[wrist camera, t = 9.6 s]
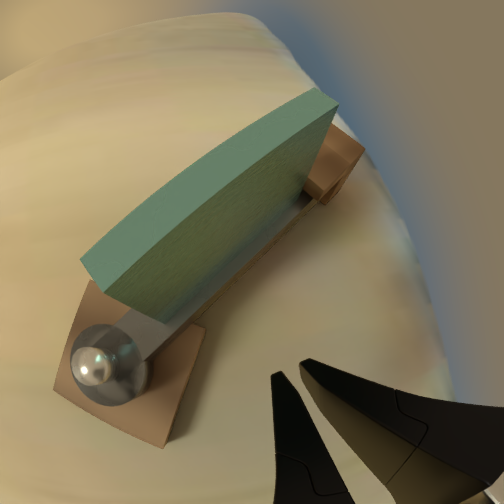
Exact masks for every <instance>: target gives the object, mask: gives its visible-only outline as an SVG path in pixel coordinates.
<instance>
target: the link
mask: <svg viewBox="0 0 504 504" xmlns="http://www.w3.org/2000/svg"><path fill="white" fill-rule="evenodd" d="M338 106H339V103H338V102H336V101H335V100H333V99H332V98H330V97H329V96H327V95H325V94H324V93H323V92H321V91H319V90H318V89H316V88H315V87H314V88H312V89H311V90H309V91H307V92H305V93H303V94H301V95H300V96H298V97H296V98H294V99H292V100H291V101H289V102H287V103H285V104H284V105H282V106H280V107H279V108H277V109H275V110H273V111H272V112H270V113H268V114H267V115H265V116H263V117H262V118H260V119H259V120H257V121H255V122H254V123H252V124H251V125H249V126H247V127H246V128H244V129H243V130H241V131H240V132H238V133H237V134H235V135H234V136H232V137H231V138H229V139H227V140H226V141H225V142H223V143H222V144H220V145H219V146H217V147H216V148H214V149H213V150H211V151H210V152H209V153H207V154H206V155H204V156H203V157H201V158H200V159H199V160H197V161H196V162H194V163H193V164H192V165H190V166H189V167H188V168H186V169H185V170H184V171H182V172H181V173H180V174H178V175H177V176H176V177H174V178H173V179H172V180H170V181H169V182H168V183H167V184H165V185H164V186H163V187H161V188H160V189H159V190H158V191H156V192H155V193H154V194H153V195H151V196H150V197H149V198H148V199H146V200H145V201H144V202H143V203H142V204H140V205H139V206H138V207H137V208H136V209H134V210H133V211H132V212H131V213H130V214H129V215H127V216H126V217H125V218H124V219H123V220H122V221H120V222H119V223H118V224H117V225H116V226H115V227H114V228H113V229H111V230H110V231H109V232H108V233H107V234H106V235H105V236H104V237H103V238H101V239H100V240H99V241H98V242H97V243H96V244H95V245H94V246H93V247H92V248H91V249H90V250H89V251H88V252H87V253H86V254H85V255H83V256H82V257H81V258H80V260H81V262H82V263H83V265H84V266H85V268H86V269H87V271H88V272H89V274H90V275H91V277H92V278H93V280H94V281H95V282H96V284H97V285H98V287H99V288H100V289H101V291H102V292H103V293H104V294H106V295H108V296H110V297H112V298H113V299H115V300H117V301H119V302H121V303H123V304H125V305H127V306H129V307H130V308H131V309H130V310H129V311H128V312H127V313H126V314H125V315H124V316H123V317H122V318H120V319H119V320H118V321H117V322H116V323H115V324H114V325H109V324H96V325H92V326H90V327H88V328H86V329H85V330H83V331H82V332H81V333H80V334H79V335H78V336H77V338H76V340H75V341H74V343H73V346H72V349H71V354H70V367H71V372H72V375H73V378H74V380H75V382H76V384H77V386H78V387H79V389H80V390H81V391H82V393H83V394H84V395H85V396H86V397H88V398H89V399H90V400H92V401H94V402H95V403H97V404H100V405H103V406H110V407H113V406H120V405H123V404H125V403H127V402H130V401H132V400H134V399H136V398H138V397H140V396H141V395H142V394H143V393H144V392H145V391H146V390H147V389H148V387H149V385H150V383H151V381H152V378H153V370H154V367H153V360H154V359H155V358H156V357H157V356H158V355H159V354H160V353H161V352H162V351H164V350H165V349H166V348H167V347H168V346H169V345H170V344H171V343H172V342H173V341H174V340H175V339H176V338H177V337H178V336H179V335H180V334H181V333H183V332H184V331H185V330H186V329H187V328H188V327H189V326H190V325H191V324H192V323H193V322H194V321H195V320H196V319H197V318H198V317H199V316H200V315H201V314H203V313H204V312H205V311H206V310H207V309H208V308H209V307H210V306H211V305H212V304H213V303H214V302H215V301H216V300H217V299H218V298H219V297H220V296H221V295H222V294H223V293H224V292H226V291H227V290H228V289H229V288H230V287H231V286H232V285H233V284H234V283H235V282H236V281H237V280H238V279H239V278H240V277H241V276H242V275H243V274H244V273H245V272H246V271H247V270H248V269H249V268H250V267H252V266H253V265H254V264H255V263H256V262H257V261H258V260H259V259H260V258H261V257H262V256H263V255H264V254H265V253H266V252H267V251H268V250H269V249H270V248H271V247H272V246H273V245H274V244H275V243H276V242H277V241H278V240H279V239H280V238H281V237H282V236H283V235H285V234H286V233H287V232H288V231H289V230H290V229H291V228H292V227H293V226H294V225H295V224H296V223H297V222H298V221H299V220H300V219H301V218H302V217H303V216H304V215H305V214H306V213H307V212H308V211H309V210H310V209H311V208H312V207H313V206H314V205H315V204H316V203H317V202H318V201H316V200H315V199H314V198H313V197H312V196H310V195H309V194H308V193H307V192H306V191H304V190H303V187H304V184H305V182H306V180H307V178H308V175H309V173H310V171H311V169H312V166H313V164H314V162H315V159H316V157H317V155H318V153H319V150H320V148H321V146H322V143H323V141H324V139H325V136H326V134H327V132H328V129H329V127H330V125H331V122H332V120H333V118H334V115H335V113H336V111H337V108H338Z"/></svg>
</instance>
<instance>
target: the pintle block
mask: <svg viewBox="0 0 504 504" xmlns="http://www.w3.org/2000/svg"><path fill="white" fill-rule="evenodd" d="M130 309H131V308H130V307H129V306H127V305H125V304H123V303H121V302H119V301H117V300H115V299H113V298H112V297H110V296H108V295H106V294H104V293H103V292H102V291H101V289H100V288H99V287H98V285H97V284H96V282H94V281H92V280H90V281H89V283H88V285H87V288H86V290H85V293H84V295H83V298H82V300H81V303H80V305H79V308H78V311H77V313H76V316H75V319H74V322H73V324H72V327H71V330H70V333H69V336H68V339H67V342H66V345H65V348H64V352H63V355H62V358H61V362H60V365H59V369H58V372H57V376H56V380H55V384H54V388H53V390H54V391H55V392H57V393H58V394H60V395H61V396H63V397H64V398H66V399H67V400H69V401H70V402H72V403H73V404H75V405H77V406H78V407H80V408H82V409H83V410H85V411H87V412H88V413H90V414H92V415H93V416H95V417H97V418H99V419H100V420H102V421H104V422H106V423H108V424H110V425H112V426H113V427H115V428H117V429H119V430H121V431H123V432H125V433H127V434H130V435H132V436H134V437H136V438H138V439H140V440H142V441H145V442H147V443H149V444H152V445H154V446H156V447H159V448H161V449H163V448H164V447H165V445H166V444H167V441H168V438H169V435H170V432H171V429H172V426H173V423H174V420H175V418H176V415H177V412H178V409H179V406H180V403H181V400H182V397H183V394H184V391H185V389H186V386H187V383H188V380H189V377H190V374H191V371H192V369H193V366H194V363H195V360H196V357H197V354H198V352H199V349H200V346H201V343H202V340H203V338H204V335H205V332H206V329H205V328H203V327H200V326H198V325H195V324H191V325H190V326H189V327H188V328H187V329H186V330H185V331H184V332H183V333H181V334H180V335H179V336H178V337H177V338H176V339H175V340H174V341H173V342H172V343H171V344H170V345H169V346H168V347H167V348H166V349H165V350H164V351H162V352H161V353H160V354H159V355H158V356H157V357H156V358H155V359H154V360H153V367H154V370H153V378H152V381H151V383H150V385H149V387H148V389H147V390H146V391H145V392H144V393H143V394H142V395H141V396H140V397H138V398H136V399H134V400H132V401H130V402H127V403H125V404H123V405H120V406H113V407H110V406H103V405H100V404H97V403H95V402H94V401H92V400H90V399H89V398H88V397H86V396H85V395H84V394H83V393H82V391H81V390H80V389H79V387H78V386H77V384H76V382H75V380H74V378H73V375H72V372H71V367H70V354H71V349H72V346H73V343H74V341H75V340H76V338H77V336H78V335H79V334H80V333H81V332H82V331H83V330H85V329H86V328H88V327H90V326H92V325H96V324H109V325H114V324H115V323H116V322H117V321H118V320H119V319H120V318H122V317H123V316H124V315H125V314H126V313H127V312H128V311H129V310H130Z"/></svg>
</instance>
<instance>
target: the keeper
mask: <svg viewBox="0 0 504 504" xmlns="http://www.w3.org/2000/svg"><path fill="white" fill-rule="evenodd" d="M364 150H365V148H364V147H363V146H361V145H360V144H359V143H358V142H356V141H355V140H354V139H352V138H351V137H350V136H348V135H347V134H346V133H344V132H343V131H342V130H340V129H339V128H338V127H336V126H335V125H333V124H332V123H331V125H330V127H329V129H328V132H327V134H326V136H325V139H324V141H323V143H322V146H321V148H320V150H319V153H318V155H317V157H316V159H315V162H314V164H313V166H312V169H311V171H310V173H309V175H308V178H307V180H306V182H305V184H304V187H303V190H304V191H306V192H307V193H308V194H309V195H310V196H312V197H313V198H314V199H315V200H316V201H320V202H321V203H323V204H324V205H326V204H327V203H328V202H329V201H330V200H331V199H332V198H333V196H334V195H335V194H336V193H337V192H338V191H339V190H340V188H341V187H342V185H343V184H344V182H345V181H346V179H347V177H348V176H349V174H350V173H351V171H352V170H353V168H354V166H355V165H356V163H357V162H358V160H359V158H360V157H361V155H362V154H363V152H364Z"/></svg>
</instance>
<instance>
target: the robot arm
mask: <svg viewBox="0 0 504 504" xmlns="http://www.w3.org/2000/svg"><path fill="white" fill-rule="evenodd" d="M299 368H300V375H301V379H302V381H303V383H304V385H305V386H306V388H307V390H308V392H309V393H310V395H311V397H312V398H313V400H314V402H315V403H316V405H317V407H318V408H319V410H320V411H321V413H322V414H323V415H324V416H325V418H326V419H327V420H328V421H329V423H330V424H331V425H332V426H333V427H334V429H335V430H336V431H337V432H338V433H339V435H340V436H341V437H342V438H343V439H344V440H345V442H346V443H347V444H348V445H349V446H350V447H351V449H352V450H353V451H354V452H355V453H356V454H357V456H358V457H359V458H360V459H361V460H362V461H363V462H364V464H365V465H366V466H367V467H368V468H369V469H370V470H371V471H372V473H373V474H374V475H375V476H376V477H377V478H378V479H379V480H380V481H381V483H382V484H383V485H384V486H385V487H386V488H387V489H388V490H389V492H390V493H391V495H392V496H393V498H394V500H395V502H396V504H504V407H493V406H482V405H473V404H465V403H458V402H451V401H444V400H438V399H432V398H427V397H422V396H418V395H414V394H411V393H407V392H404V391H400V390H397V389H396V390H395V389H393V388H390V387H387V386H384V385H381V384H378V383H375V382H372V381H369V380H367V379H364V378H361V377H358V376H355V375H353V374H350V373H347V372H345V371H342V370H339V369H337V368H334V367H331V366H329V365H326V364H324V363H321V362H318V361H316V360H313V359H311V358H308V359H306V360H303V361H301V362H300V363H299ZM271 391H272V406H273V423H274V439H275V453H276V454H275V460H276V482H275V494H274V501H273V504H355V502H354V500H353V499H352V497H351V495H350V493H349V492H348V489H347V487H346V485H345V483H344V481H343V480H342V478H341V476H340V474H339V472H338V470H337V468H336V466H335V464H334V462H333V460H332V458H331V456H330V454H329V452H328V450H327V448H326V446H325V444H324V442H323V440H322V438H321V436H320V434H319V432H318V430H317V428H316V426H315V424H314V422H313V420H312V418H311V416H310V414H309V412H308V410H307V408H306V406H305V404H304V402H303V400H302V398H301V396H300V394H299V393H298V391H297V390H296V389H295V387H294V386H293V385H292V383H291V382H290V381H289V380H288V378H287V377H286V376H285V374H284V373H283V372H282V371H279V372H276V373H274V374H272V375H271Z"/></svg>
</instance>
